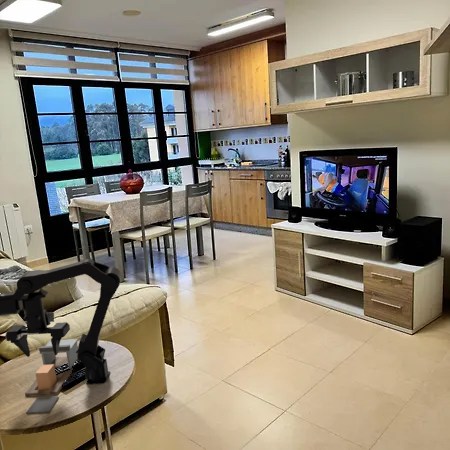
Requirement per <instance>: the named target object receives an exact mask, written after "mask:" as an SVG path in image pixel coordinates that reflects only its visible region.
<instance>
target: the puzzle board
mask: <svg viewBox="0 0 450 450" xmlns="http://www.w3.org/2000/svg"><path fill="white" fill-rule="evenodd" d="M76 361H78V359H77V360H76ZM66 363H68V360H67V356H58V357H57V356H56V358H55V359H54V361H53V362H52V363H51V364H54V367H55V368H58V367H60V366H62V365H64V364H66ZM72 370H73V368H71V369H70V370H68V371H65V372H63V373H60V374H58V375H56V378H57V382H56V384H55V385H54V387H53V388H52V389H49V390H39V389H38V384H37V379H35V380H34V381H33V383H32V384H31V385H30V387H29V388H28V389H27V390H26V391H25V392H24V396H25V397H36V396H39V397H40V396H53V395H59V393H60V391H62V389H63V387H62V384H63V383H64V381H65V380H66V379H67V378H68V377H69V378H70V376H71V375H72V374H73V372H72ZM73 371H74V370H73ZM70 374H71V375H70ZM69 378H68V379H69ZM68 379H67V380H68Z"/></svg>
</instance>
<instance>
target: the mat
mask: <svg viewBox="0 0 450 450" xmlns="http://www.w3.org/2000/svg"><path fill="white" fill-rule="evenodd" d="M58 400H59V396H51V397H50V396H49V397H36V399H35V400H33V402H32V404H31V405H30V406H29V408H28V409H27V411H26V412H25V414H26V415H31V414H45V413H46V414H47V413H48V414H49V413H50V412H51V411H52V410H53V408H54V406H55V405H56V403H57V402H58Z"/></svg>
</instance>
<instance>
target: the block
mask: <svg viewBox="0 0 450 450" xmlns="http://www.w3.org/2000/svg"><path fill="white" fill-rule="evenodd" d="M35 378H36V379H37V384H38V389H37V390H49V389H53V387H54V386H55V384H56V383H57V382H58V380H57V378H56V373H55V367H54V364H50V365H43V364H42V365H41V366H40V367H39V368H38V369H37V371H36V372H35ZM36 379H35V380H36Z"/></svg>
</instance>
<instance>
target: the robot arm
mask: <svg viewBox="0 0 450 450" xmlns="http://www.w3.org/2000/svg"><path fill="white" fill-rule="evenodd" d="M83 275H86V276H88V277H89V278H91V279H92V280H93V281H94V282H96V283H98V284H100V292H99V299H98V302H97V306H96V308H95V311H94V314H93V317H92V320H91V323H90V326H89V330H88V331H87V333H86V334H85V333H82V334H81V336H80V339H79V343H78V344H77V345H78V348H77V351H76V353H78V354H77V358H78V360H79V363H80V362H81V363H82V364H83V365H84V374H85V375H84V376H85V380H86V382H85V384H86V385H100V384H105V383H106V382H107V381H108V378H109V376H110V375H111V371H109V367H108V360H107V359H106V358H105V354H106V348H104V347H102V346H100V345H99V344H100V343H99V341H100V333H101V330H102V327H103V324H104V322H105V319H106V314H107V313H108V309H109V306H110V303H111V300H112V298H113V297H114V295H115V294H116V292H117V290H118V288H119V287H120V284H121V282H122V280H121V279H122V272H121V270H119V269H118V268H116V267H113V266H112V267H110V266H108V265H106V264H103V263H101V262H97V261H95V260H92V259H90V258H85V259H84V260H80V261H78V262H73V263H70V264H67V265H63V266H62V265H61V266H59V267H55V268H52V269H46V270H44V269H37V270H35V269H34V270H28V271H26V272H24V273H23V274H22V275H21V276H20V277H19V278H18V279H17V281H16V290H15V291H14V292H10V293H0V317H3V316H11V315H17V314H20V311H22V310H23V312H24V313H23V314H24V317H23V318H22V320H23V322H26V325H24V324H22V325H21V324H19V325H13V326H12V327H11V328H10V329H8V331H6V332H5V336H4V337H5V341H6V342H10V344H13V345H15V346H16V347H17V348H18V349H20V351H21V352H22V353H23V354H24V355H25V357H27V358H29V357H30V356H31V352H30V347H29V346H30V345H29V342H28V335H29V336H30V335H31V336H32V335H47V334H50V337H52V338H50V341H51V343H52V347H53V351H54V354H55V355H56V356H57V355H58V354H59V353H58V349H59V344H60V340H62V339H63V338H64V337H66V335H67V334H68V332H69V331H70V330H71V327H70V324H69V323H68V322H67V321H66V322H56V323H55V324H54V325H53V326H50V325H51V323H53V322H55V312H53V311H51V312H48V310H47V309H45V307H44V303H43V299H44V298H46V297H47V295H48V293H49V292H48V291H47V290H45V289H43V288H45V287H46V286H48V285H50V284H54V283H57V282H61V281H64V280H68V279H73V278H75V277H79V276H83ZM48 326H50V327H48Z"/></svg>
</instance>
